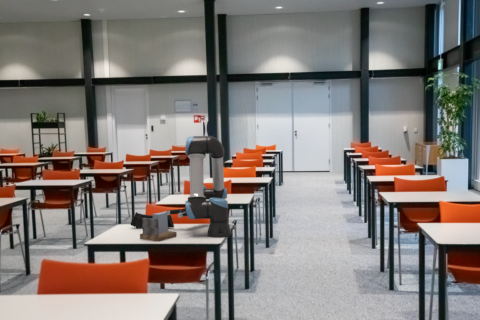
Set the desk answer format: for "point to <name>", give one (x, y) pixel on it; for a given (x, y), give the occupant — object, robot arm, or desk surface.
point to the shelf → (154, 231)
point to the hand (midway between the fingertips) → (170, 214)
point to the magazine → (138, 217)
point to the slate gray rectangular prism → (161, 222)
